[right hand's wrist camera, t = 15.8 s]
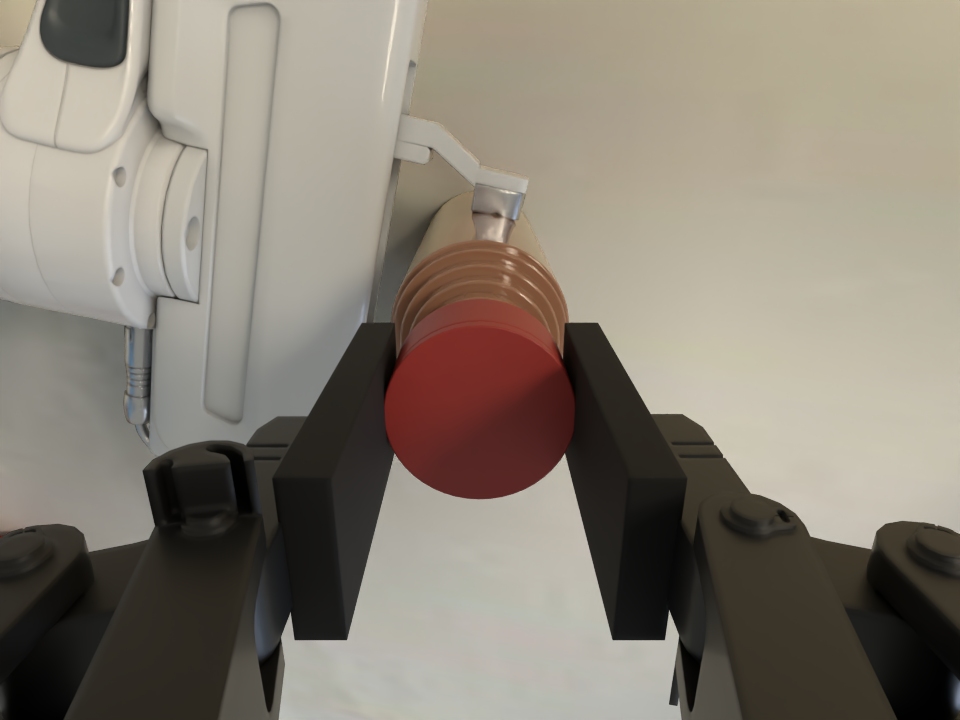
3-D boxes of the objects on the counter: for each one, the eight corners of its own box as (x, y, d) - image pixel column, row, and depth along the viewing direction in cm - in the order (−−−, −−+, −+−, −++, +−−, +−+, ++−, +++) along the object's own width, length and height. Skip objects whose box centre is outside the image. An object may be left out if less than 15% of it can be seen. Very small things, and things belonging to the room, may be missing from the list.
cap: (481, 260, 13) (482, 284, 12) (598, 380, 14) (616, 419, 13) (360, 377, 14) (342, 415, 13) (477, 482, 15) (478, 531, 14)
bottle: (549, 273, 30) (634, 461, 14) (453, 314, 31) (421, 538, 14) (509, 172, 28) (549, 246, 12) (407, 217, 29) (313, 346, 13)
